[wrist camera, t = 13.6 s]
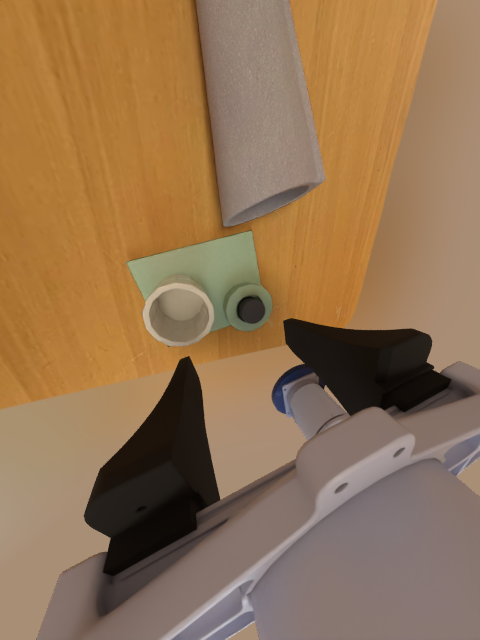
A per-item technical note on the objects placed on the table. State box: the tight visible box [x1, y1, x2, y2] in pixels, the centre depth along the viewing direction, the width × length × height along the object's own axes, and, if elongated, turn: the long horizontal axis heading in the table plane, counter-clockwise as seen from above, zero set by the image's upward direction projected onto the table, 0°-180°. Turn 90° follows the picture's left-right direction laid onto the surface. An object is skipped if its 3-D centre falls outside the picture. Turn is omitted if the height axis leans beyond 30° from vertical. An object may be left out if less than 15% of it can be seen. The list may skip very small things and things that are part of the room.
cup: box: [142, 274, 214, 346], centre depth 17 cm, size 6×6×6 cm
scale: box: [126, 231, 273, 347], centre depth 20 cm, size 11×13×2 cm
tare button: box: [238, 297, 265, 324], centre depth 20 cm, size 3×3×2 cm
